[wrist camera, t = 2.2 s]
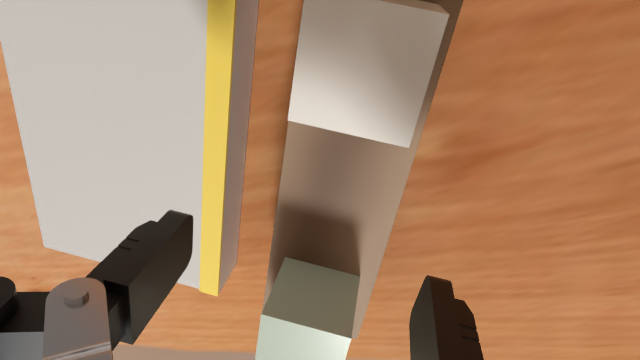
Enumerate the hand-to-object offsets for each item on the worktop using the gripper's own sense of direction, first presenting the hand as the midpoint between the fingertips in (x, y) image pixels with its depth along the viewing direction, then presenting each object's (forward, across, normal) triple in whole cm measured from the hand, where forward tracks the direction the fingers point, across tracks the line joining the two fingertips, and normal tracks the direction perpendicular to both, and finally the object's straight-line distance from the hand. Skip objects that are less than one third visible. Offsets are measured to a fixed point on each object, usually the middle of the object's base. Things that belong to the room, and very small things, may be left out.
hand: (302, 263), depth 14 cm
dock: (+10, +11, 0) cm, 15 cm away
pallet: (+10, -1, 0) cm, 10 cm away
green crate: (+6, -1, +7) cm, 9 cm away
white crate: (+6, 0, -6) cm, 8 cm away
